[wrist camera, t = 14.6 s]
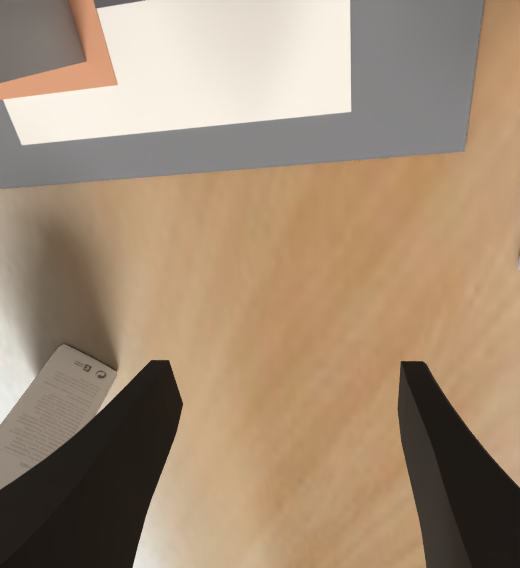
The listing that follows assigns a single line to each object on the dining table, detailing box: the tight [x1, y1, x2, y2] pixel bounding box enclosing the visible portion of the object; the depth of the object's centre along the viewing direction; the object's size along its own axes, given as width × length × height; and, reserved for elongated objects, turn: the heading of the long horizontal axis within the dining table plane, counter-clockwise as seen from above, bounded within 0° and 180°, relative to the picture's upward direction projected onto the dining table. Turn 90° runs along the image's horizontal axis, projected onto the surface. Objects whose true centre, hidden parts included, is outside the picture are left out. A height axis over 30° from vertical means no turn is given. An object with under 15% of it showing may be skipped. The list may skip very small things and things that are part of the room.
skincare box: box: [0, 344, 117, 489], centre depth 24 cm, size 6×4×12 cm
